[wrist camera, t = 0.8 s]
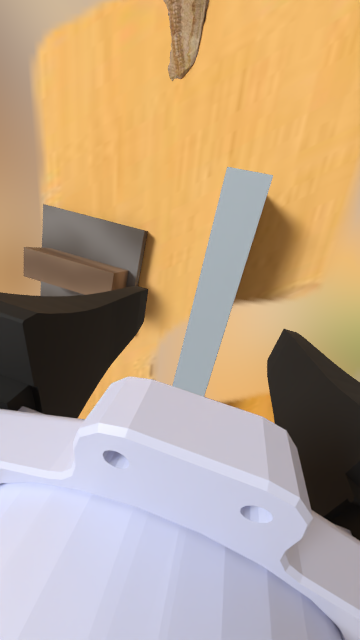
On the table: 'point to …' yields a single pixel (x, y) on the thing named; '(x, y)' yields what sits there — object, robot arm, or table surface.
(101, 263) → the fulcrum
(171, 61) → the fish fossil
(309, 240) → the table surface
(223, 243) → the batten
